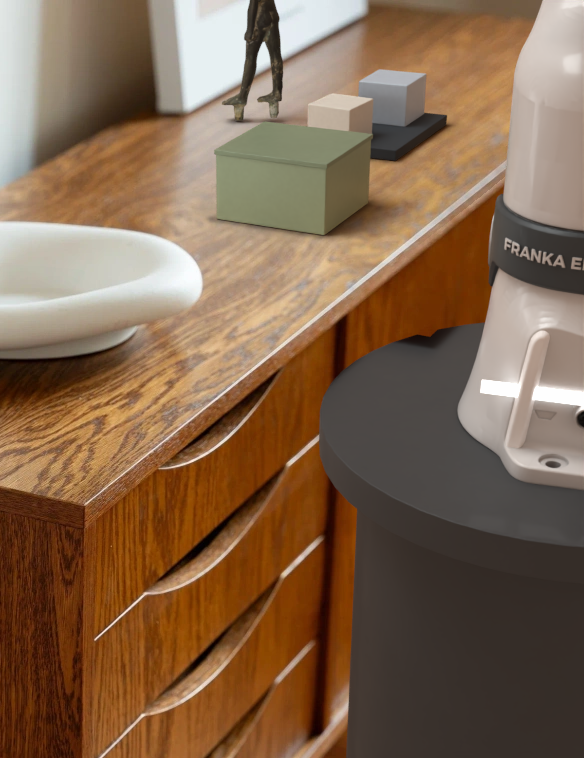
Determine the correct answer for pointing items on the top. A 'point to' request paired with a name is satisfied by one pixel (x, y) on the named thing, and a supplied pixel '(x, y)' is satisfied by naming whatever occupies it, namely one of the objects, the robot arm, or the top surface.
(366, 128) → the beige cube
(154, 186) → the top surface
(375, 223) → the top surface
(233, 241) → the top surface
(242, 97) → the statue
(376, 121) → the gray box
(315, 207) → the storage box
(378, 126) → the mat
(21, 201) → the top surface
